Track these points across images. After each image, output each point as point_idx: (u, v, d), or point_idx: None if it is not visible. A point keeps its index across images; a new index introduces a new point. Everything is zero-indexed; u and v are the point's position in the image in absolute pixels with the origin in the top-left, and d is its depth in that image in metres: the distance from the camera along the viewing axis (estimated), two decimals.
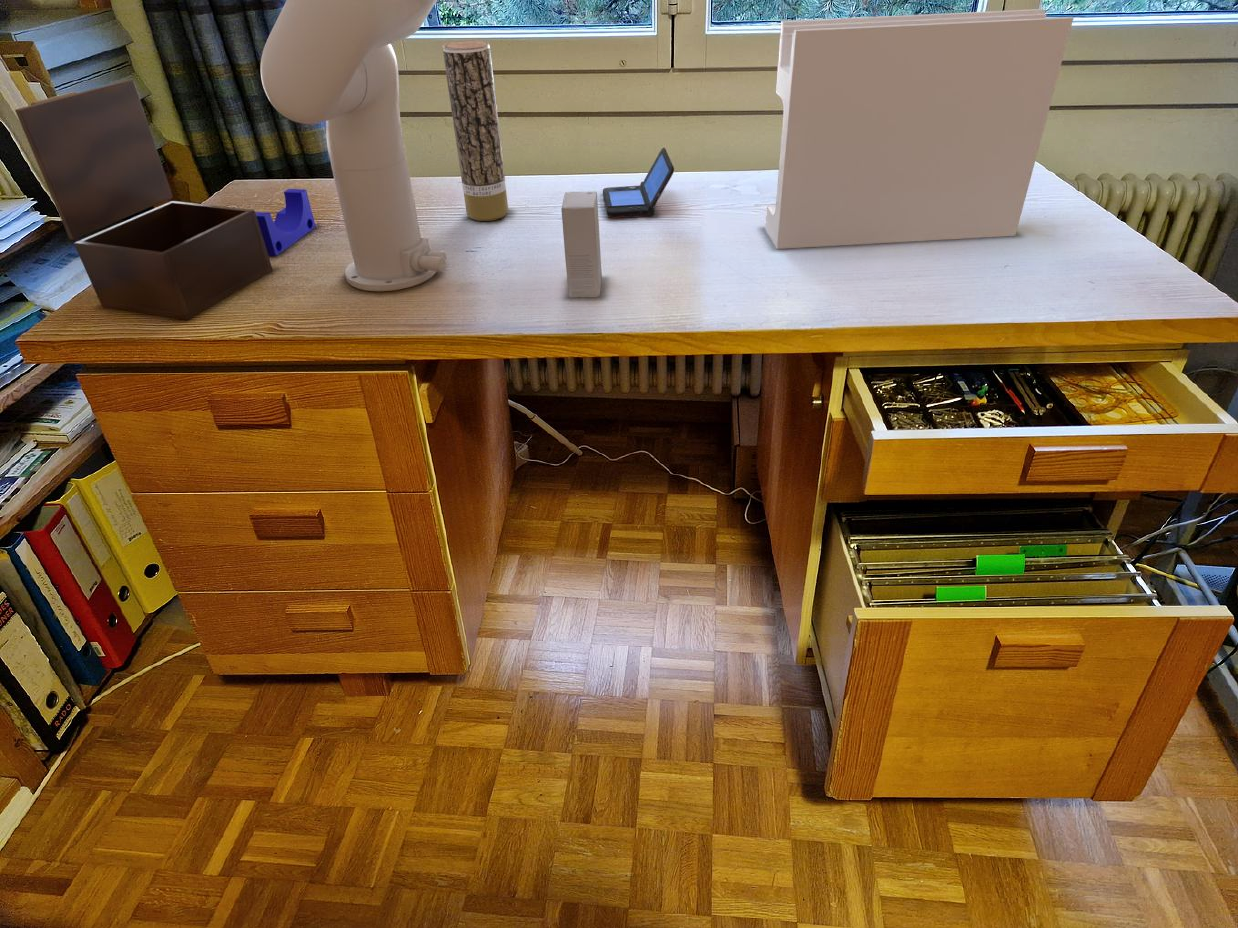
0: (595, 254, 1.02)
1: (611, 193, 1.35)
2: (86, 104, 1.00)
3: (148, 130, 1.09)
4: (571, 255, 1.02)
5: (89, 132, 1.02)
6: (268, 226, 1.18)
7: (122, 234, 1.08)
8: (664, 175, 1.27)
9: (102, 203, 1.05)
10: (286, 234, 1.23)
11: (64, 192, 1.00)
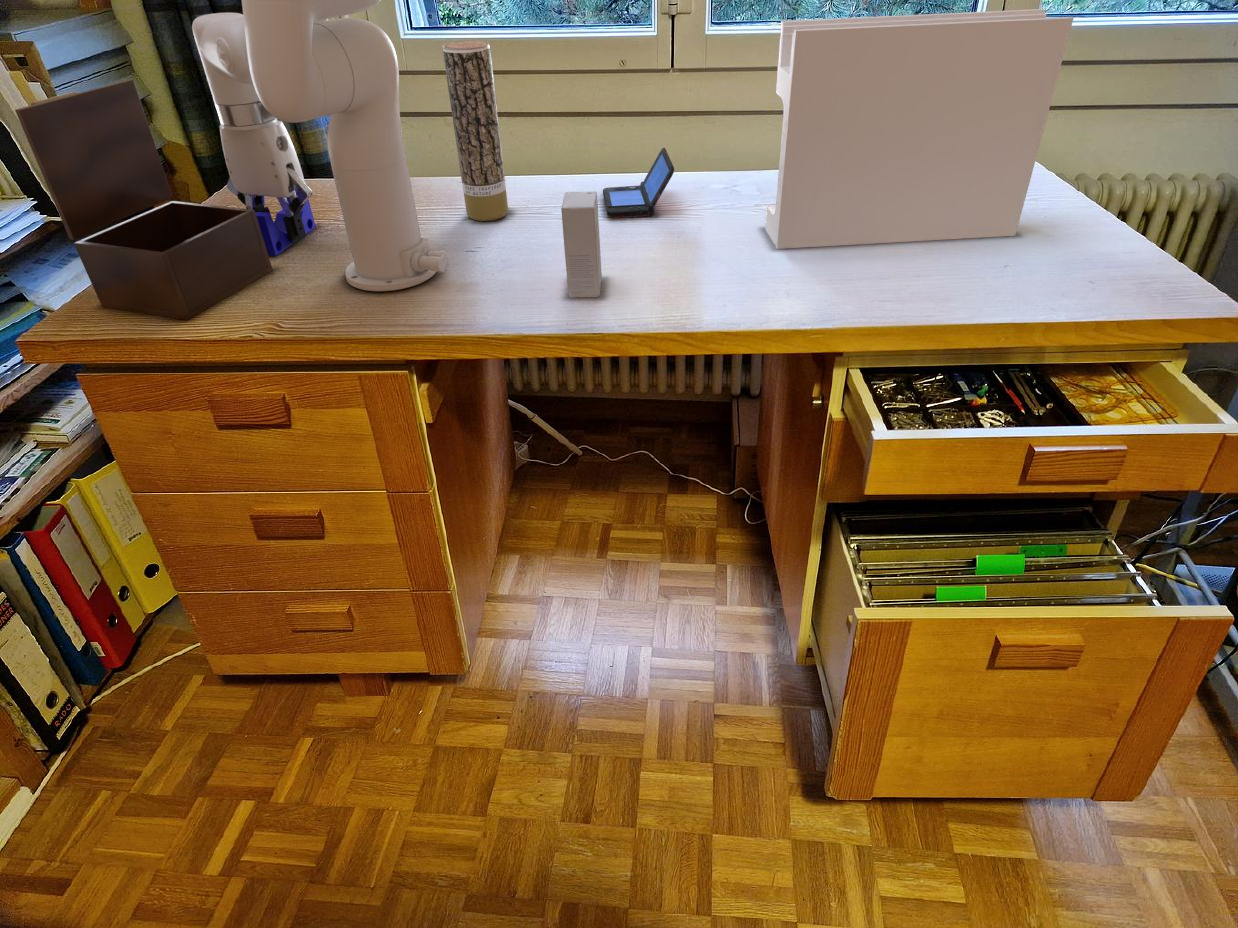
0: (595, 254, 1.02)
1: (611, 193, 1.35)
2: (86, 104, 1.00)
3: (148, 130, 1.09)
4: (571, 255, 1.02)
5: (89, 132, 1.02)
6: (268, 226, 1.18)
7: (122, 234, 1.08)
8: (664, 175, 1.27)
9: (102, 203, 1.05)
10: (286, 234, 1.23)
11: (64, 192, 1.00)
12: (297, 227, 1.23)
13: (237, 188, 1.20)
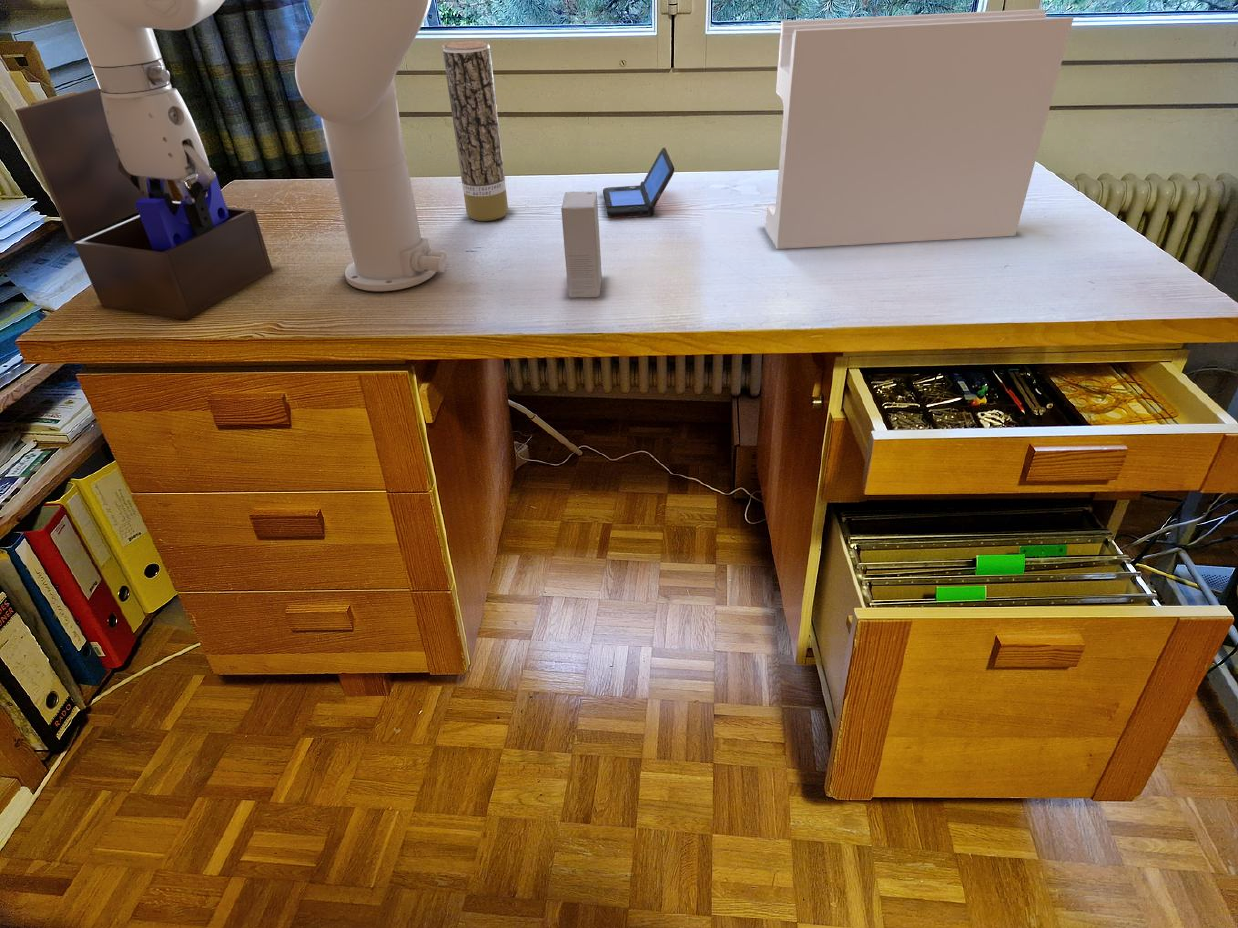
0: (595, 254, 1.02)
1: (611, 193, 1.35)
2: (86, 104, 1.00)
3: None
4: (571, 255, 1.02)
5: (89, 132, 1.02)
6: (162, 215, 0.99)
7: (122, 234, 1.08)
8: (664, 175, 1.27)
9: (102, 203, 1.05)
10: (188, 225, 1.03)
11: (64, 192, 1.00)
12: (201, 216, 1.03)
13: (127, 170, 1.01)
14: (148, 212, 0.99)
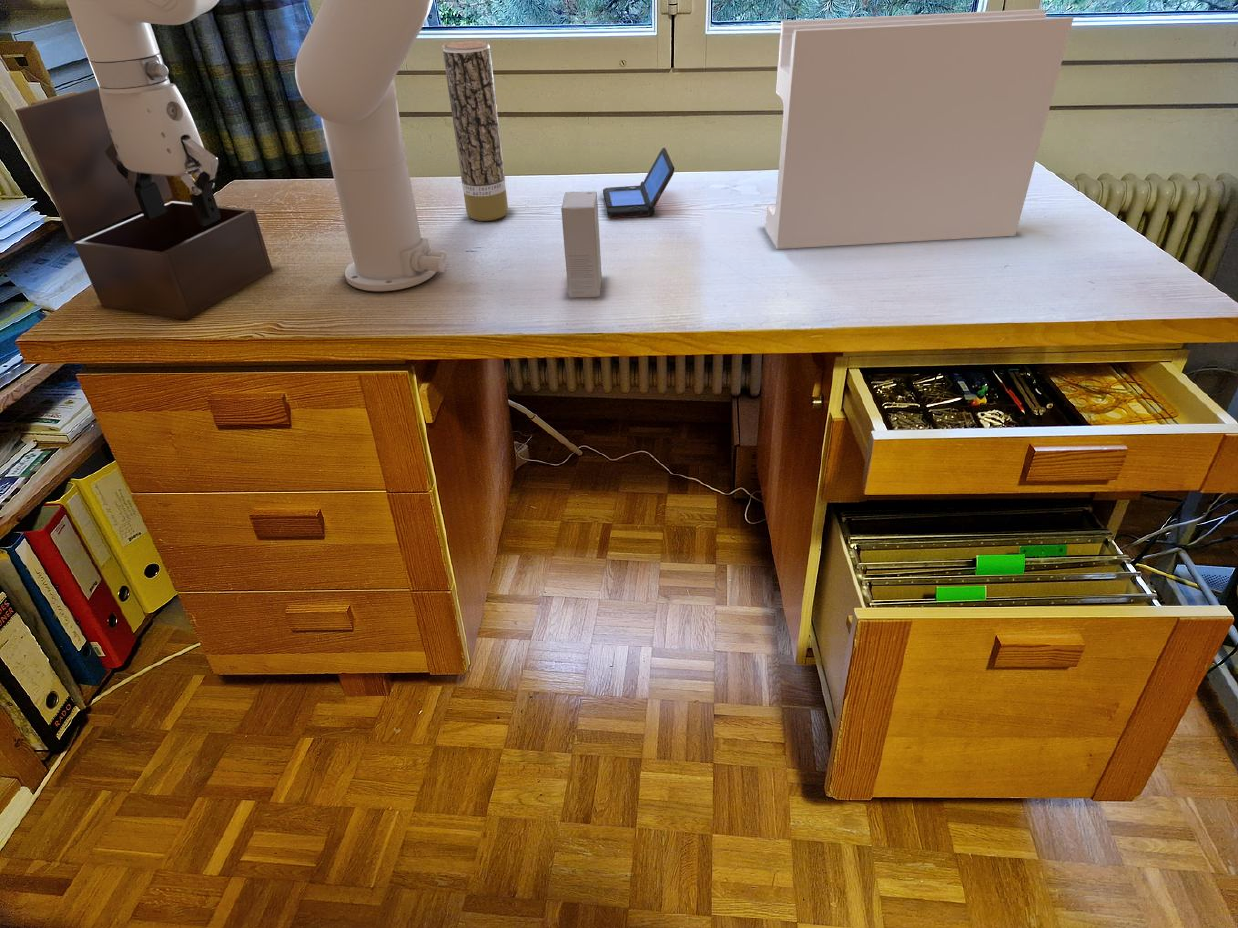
0: (595, 254, 1.02)
1: (611, 193, 1.35)
2: (86, 104, 1.00)
3: None
4: (571, 255, 1.02)
5: (89, 132, 1.02)
6: None
7: (122, 234, 1.08)
8: (664, 175, 1.27)
9: (102, 203, 1.05)
10: None
11: (64, 192, 1.00)
12: (208, 207, 1.02)
13: (126, 165, 1.01)
14: None
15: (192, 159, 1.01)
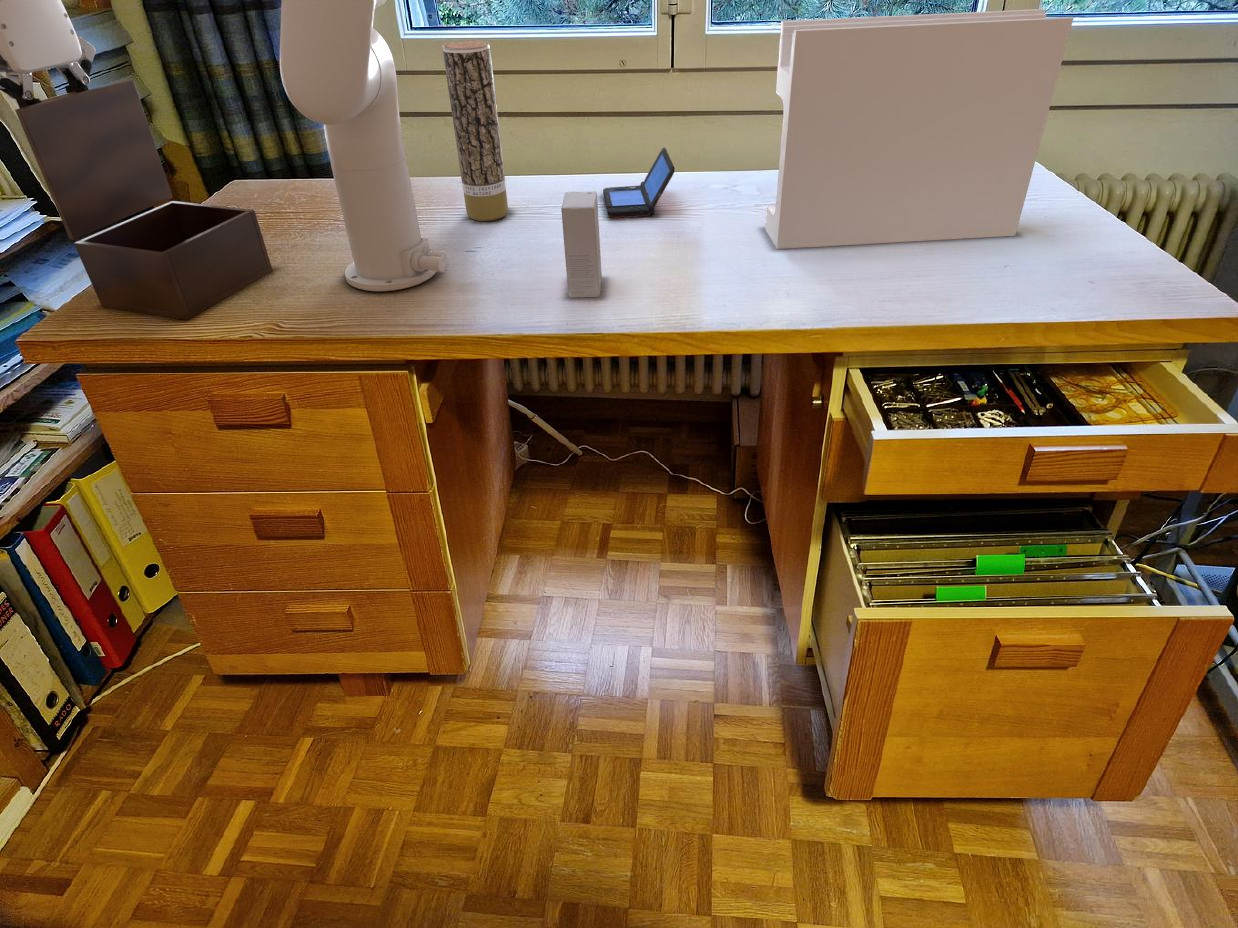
0: (595, 254, 1.02)
1: (611, 193, 1.35)
2: (86, 104, 1.00)
3: (148, 130, 1.09)
4: (571, 255, 1.02)
5: (89, 132, 1.02)
6: None
7: (122, 234, 1.08)
8: (665, 175, 1.27)
9: (102, 203, 1.05)
10: None
11: (64, 192, 1.00)
12: None
13: (21, 66, 0.95)
14: None
15: None
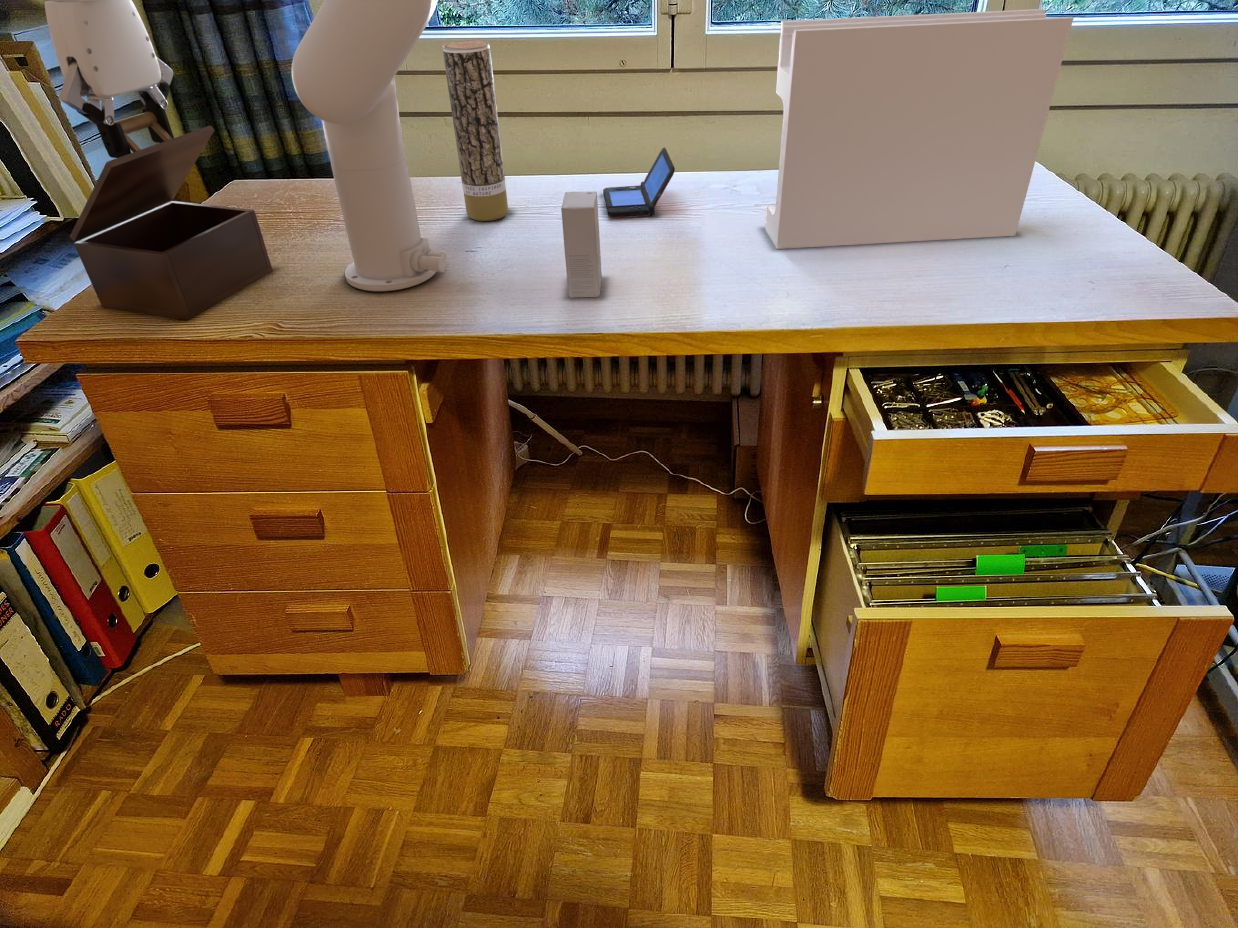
0: (595, 254, 1.02)
1: (611, 193, 1.35)
2: (165, 153, 1.01)
3: (195, 160, 1.09)
4: (571, 255, 1.02)
5: (150, 170, 1.02)
6: None
7: (122, 234, 1.08)
8: (665, 175, 1.27)
9: (117, 214, 1.05)
10: None
11: (95, 213, 1.00)
12: None
13: (104, 91, 0.93)
14: None
15: None
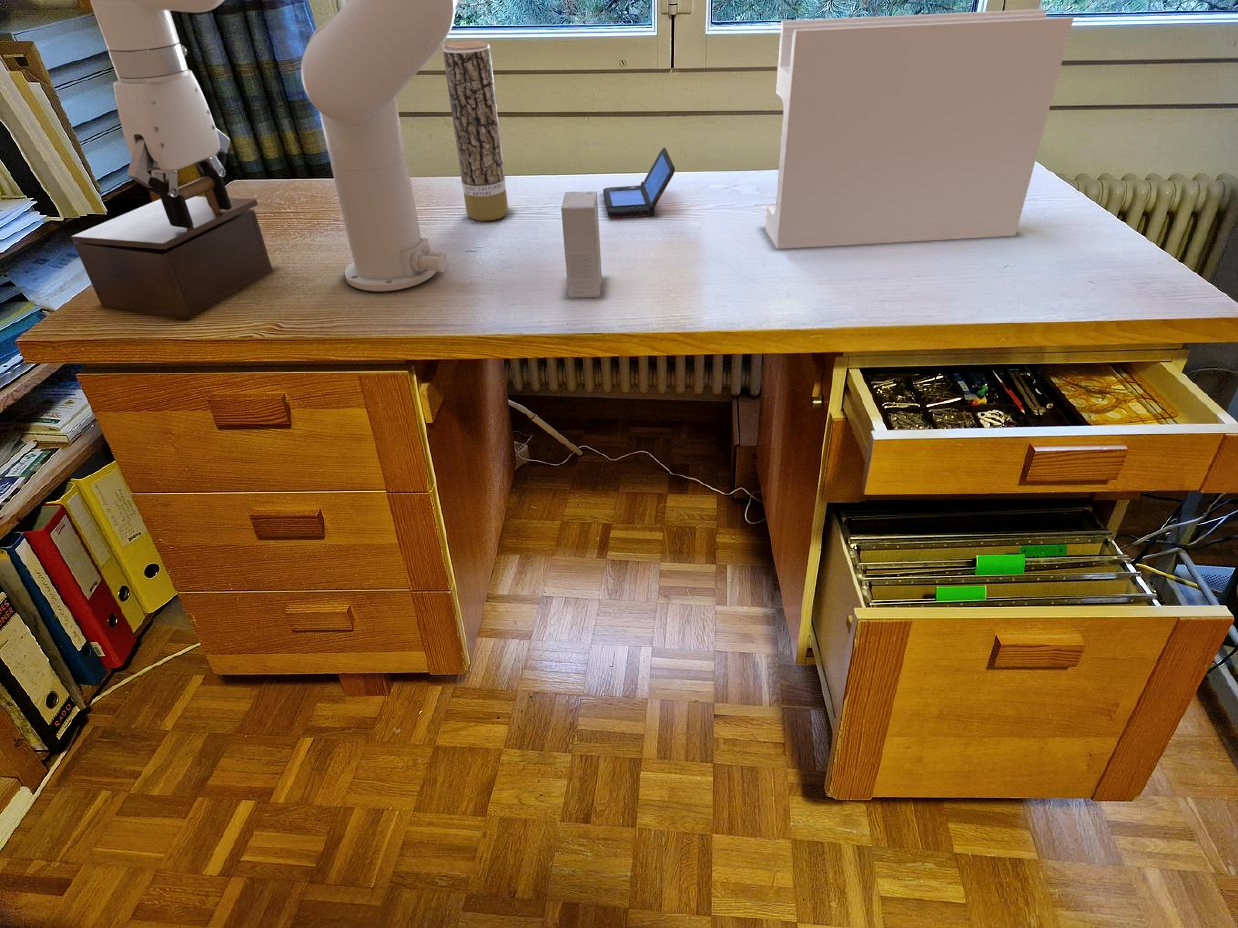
0: (595, 254, 1.02)
1: (611, 193, 1.35)
2: None
3: None
4: (571, 255, 1.02)
5: None
6: None
7: None
8: (665, 175, 1.27)
9: None
10: None
11: None
12: None
13: (169, 165, 0.96)
14: None
15: None
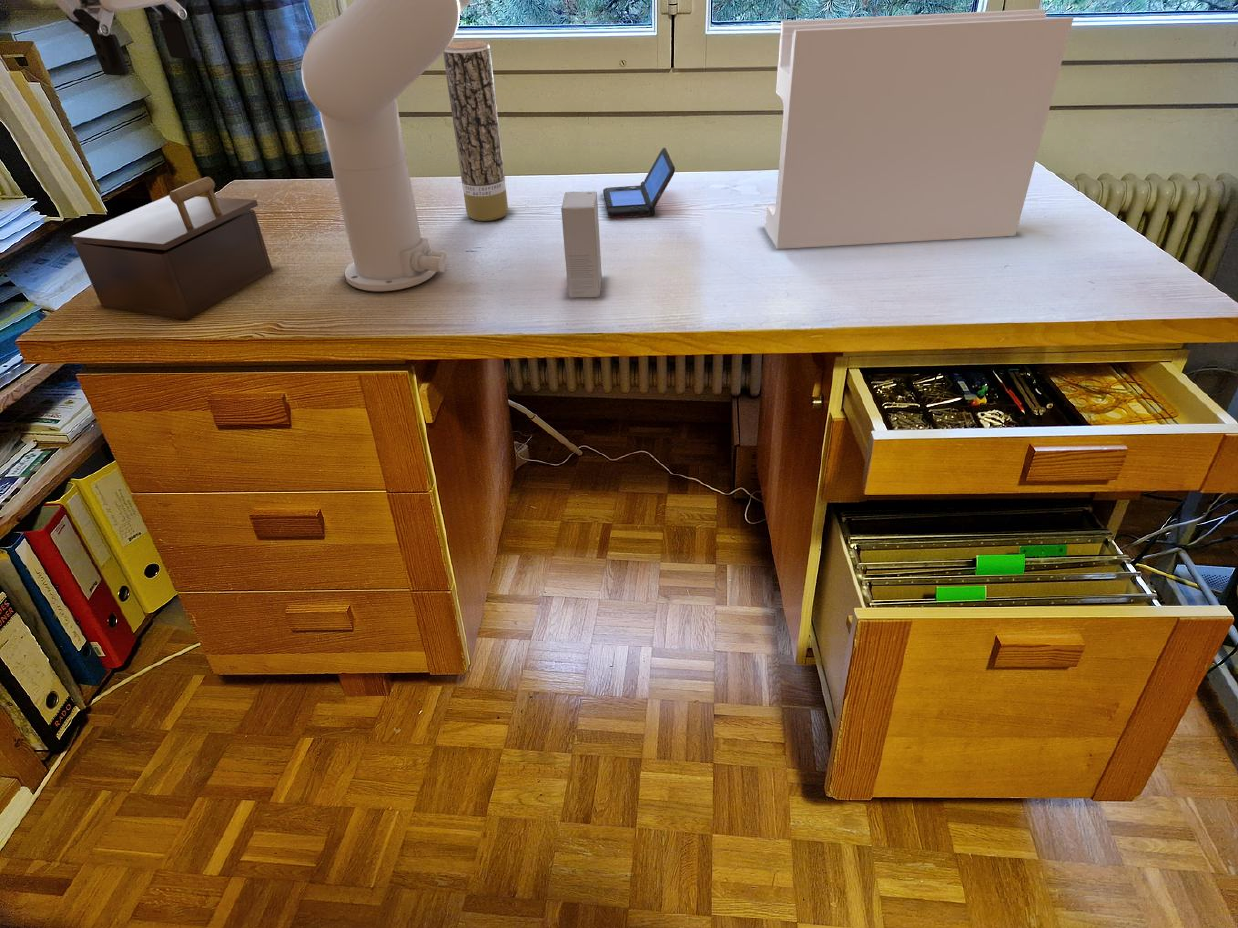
0: (595, 254, 1.02)
1: (611, 193, 1.35)
2: None
3: None
4: (571, 255, 1.02)
5: None
6: None
7: None
8: (665, 175, 1.27)
9: None
10: None
11: None
12: None
13: (112, 3, 0.86)
14: None
15: None
